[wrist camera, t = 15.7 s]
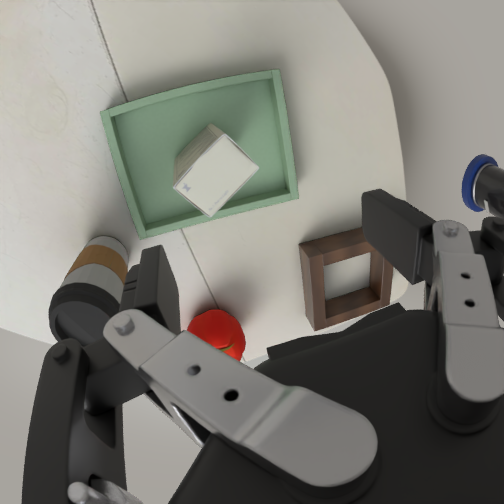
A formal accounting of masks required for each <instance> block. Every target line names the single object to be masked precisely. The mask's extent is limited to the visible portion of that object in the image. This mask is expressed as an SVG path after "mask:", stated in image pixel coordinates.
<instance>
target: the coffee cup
mask: <svg viewBox="0 0 504 504" xmlns="http://www.w3.org/2000/svg"><path fill="white" fill-rule="evenodd" d="M127 273H128V254H127V251H126V249H125V248H124V246H123V245H122V244H121V243H120V242H119V241H118V240H116V239H114V238H112V237H108V236H100V237H96V238H94V239H92V240H91V241H89V242H88V244H87V245H86V246H85V248H84V249H83V250H82V252H81V253H80V254H79V256H78V257H77V259H76V260H75V262H74V264H73V265H72V267H71V268H70V270H69V272H68V273H67V275H66V276H65V279H64V281H63V283H62V285H61V286H60V288H59V289H58V290H57V291H56V292H55V294H54V295H53V297H52V300H51V304H50V307H49V325H50V329H51V332H52V334H53V336H54V337H55V339H56V340H57V341H58V342H59V341H61V340H64V339H68V338H73V339H76V340H78V341H79V343H80V344H81V346H82V347H85V346H87V345H89V344H91V343H93V342H95V341H97V340H99V339H101V338H102V337H104V335H103V330H104V327H105V325H106V323H107V322H108V321H109V320H110V319H111V318H112V317H113V316H114V315H116V314H118V313H119V307H120V302H121V297H122V292H123V287H124V285H125V284H124V282H125V278H126V274H127Z"/></svg>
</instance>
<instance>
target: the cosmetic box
mask: <svg viewBox="0 0 504 504" xmlns="http://www.w3.org/2000/svg"><path fill="white" fill-rule="evenodd" d="M258 169H259V166H258V165H257V164H256V163H255V162H254V161H253V160H252V159H251V158H250V157H249V156H248V155H247V154H246V153H245V152H244V151H243V150H242V149H241V148H240V147H239V146H238V145H237V144H236V143H235V142H234V141H233V140H232V139H231V138H230V137H229V136H228V135H227V134H225V133H224V132H223V131H221V130H220V129H219V128H217V127H216V126H215V125H213V124H212V123H210V124H208V125H207V126H206V127H205V128H204V129H203V130H202V131H201V132H200V133H199V134H198V135H197V136H196V137H195V138H194V139H193V140H192V141H191V142H190V143H189V144H188V145H187V146H186V147H185V148H184V149H183V150H182V152H181V153H180V154H179V155H178V156H177V157H176V158H175V160H174V175H173V188H174V189H175V190H176V191H177V192H178V193H179V194H180V195H182V196H183V197H184V198H185V199H186V200H187V201H189V202H190V203H191V204H192V205H193V206H195V207H196V208H197V209H198V210H200V211H201V212H202V213H203V214H205V215H206V216H207V217H212V216H213V215H214V214H215V213H216V212H217V211H218V210H219V209H220V208H221V207H222V206H223V205H224V204H225V203H226V202H227V201H228V200H229V199H230V198H231V197H232V196H233V195H234V194H235V193H236V192H237V191H238V190H239V189H240V188H241V187H242V186H243V185H244V184H245V183H246V182H247V181H248V180H249V179H250V178H251V177H252V176H253V175H254V174H255V172H256V171H257V170H258Z"/></svg>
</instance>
